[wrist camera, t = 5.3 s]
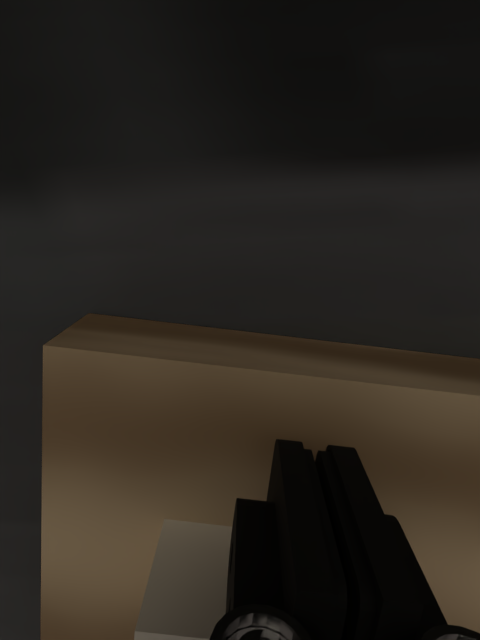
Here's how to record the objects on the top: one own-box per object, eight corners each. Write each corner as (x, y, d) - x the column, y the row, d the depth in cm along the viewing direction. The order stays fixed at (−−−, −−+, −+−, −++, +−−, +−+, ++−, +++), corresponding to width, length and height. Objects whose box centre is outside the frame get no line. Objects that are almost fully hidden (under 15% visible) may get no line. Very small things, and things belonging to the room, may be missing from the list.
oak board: (88, 312, 13) (43, 345, 10) (505, 361, 13) (578, 407, 10) (74, 728, 17) (38, 836, 14) (393, 761, 17) (423, 875, 14)
